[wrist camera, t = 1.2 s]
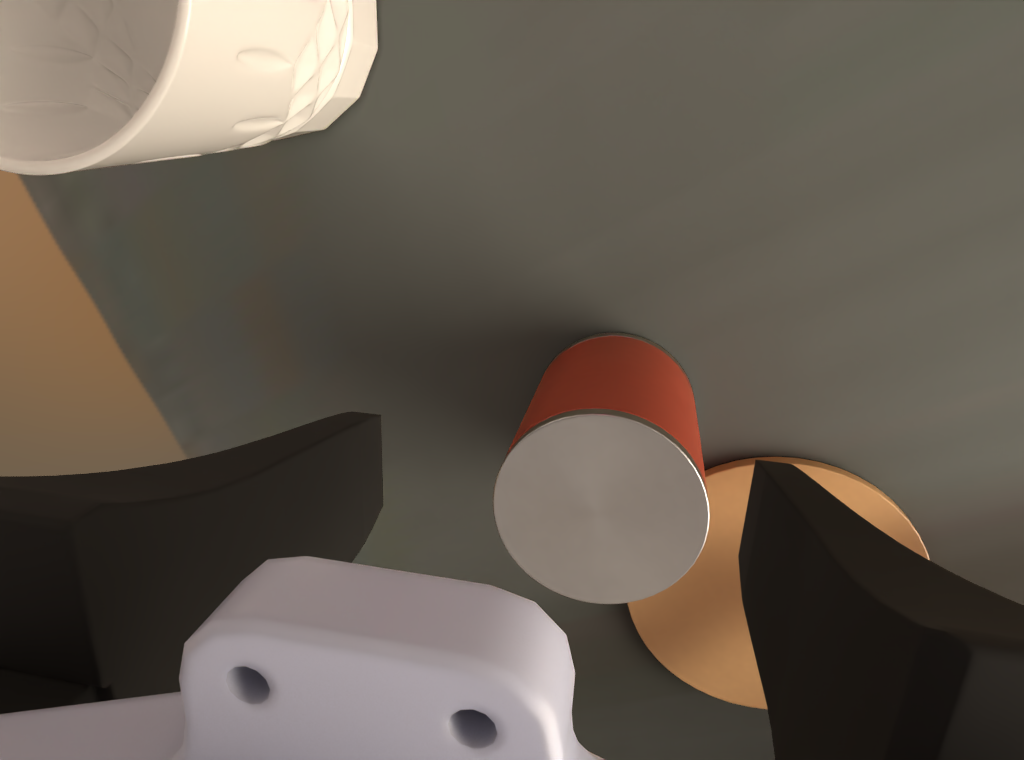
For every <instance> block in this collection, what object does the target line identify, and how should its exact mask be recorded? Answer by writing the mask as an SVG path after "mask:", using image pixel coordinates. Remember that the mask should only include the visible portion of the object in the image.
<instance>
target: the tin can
mask: <svg viewBox="0 0 1024 760" xmlns="http://www.w3.org/2000/svg"><path fill="white" fill-rule="evenodd" d="M493 512H494V518H495V523H496V526H497V529H498V532H499V535H500V537H501V539H502V541H503V544H504V546H505V547H506V549H507V550H508V552H509V554H510V555H511V557H512V558H513V559H514V560H515V561H516V563H517V564H518V565H519V566H520V567H521V568H522V569H523V570H524V571H525V572H526V573H527V574H528V575H529V576H531V577H532V578H533V579H535V580H536V581H537V582H538V583H540V584H542V585H543V586H545V587H547V588H548V589H550V590H552V591H554V592H556V593H559V594H561V595H563V596H566V597H569V598H572V599H575V600H579V601H584V602H588V603H597V604H621V603H629V602H634V601H638V600H642V599H645V598H648V597H650V596H653V595H655V594H657V593H659V592H661V591H663V590H665V589H667V588H668V587H670V586H671V585H673V584H674V583H676V582H677V581H678V580H679V579H680V578H681V577H683V576H684V575H685V574H686V573H687V572H688V570H689V569H690V568H691V567H692V565H693V564H694V563H695V561H696V560H697V558H698V556H699V555H700V553H701V551H702V549H703V546H704V544H705V542H706V538H707V534H708V530H709V520H710V511H709V500H708V492H707V485H706V478H705V471H704V464H703V457H702V450H701V443H700V436H699V429H698V421H697V414H696V407H695V400H694V395H693V390H692V386H691V384H690V381H689V378H688V377H687V375H686V373H685V371H684V369H683V368H682V367H681V365H680V364H679V363H678V361H677V360H676V359H675V358H674V357H673V356H672V355H671V354H670V353H669V352H667V351H666V350H665V349H664V348H662V347H661V346H659V345H657V344H656V343H654V342H652V341H650V340H648V339H645V338H643V337H640V336H636V335H633V334H626V333H613V332H611V333H600V334H596V335H591V336H588V337H585V338H583V339H580V340H578V341H576V342H574V343H572V344H571V345H569V346H568V347H566V348H565V349H564V350H562V351H561V352H560V353H559V354H558V355H557V356H556V357H555V358H554V359H553V361H552V362H551V363H550V364H549V366H548V368H547V369H546V371H545V373H544V375H543V377H542V379H541V381H540V383H539V386H538V388H537V390H536V392H535V394H534V396H533V399H532V401H531V403H530V405H529V407H528V409H527V411H526V414H525V416H524V418H523V420H522V422H521V424H520V427H519V429H518V431H517V433H516V435H515V437H514V439H513V442H512V444H511V446H510V448H509V450H508V452H507V455H506V457H505V459H504V461H503V463H502V465H501V468H500V470H499V472H498V475H497V478H496V482H495V486H494V493H493Z"/></svg>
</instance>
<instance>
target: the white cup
mask: <svg viewBox="0 0 1024 760" xmlns="http://www.w3.org/2000/svg"><path fill="white" fill-rule="evenodd" d="M377 50H378V36H377V8H376V0H0V170H2V171H7V172H12V173H17V174H25V175H54V174H62V173H69V172H77V171H84V170H92V169H100V168H107V167H115V166H123V165H131V164H139V163H147V162H155V161H163V160H172V159H180V158H188V157H196V156H201V155H206V154H210V153H217V152H224V151H231V150H236V149H240V148H248V147H254V146H260V145H264V144H266V143H268V142H270V141H274V140H282V139H286V138H291V137H295V136H299V135H304V134H308V133H312V132H317V131H321V130H325V129H326V128H327V127H328V126H329V125H331V124H332V123H333V122H334V121H335V120H336V119H337V118H338V117H339V116H340V115H341V114H342V113H343V112H345V111H346V110H347V109H348V108H349V107H350V106H351V105H352V104H353V103H354V102H355V101H356V100H358V99H359V97H360V95H361V92H362V90H363V87H364V84H365V82H366V79H367V77H368V74H369V71H370V69H371V66H372V63H373V61H374V58H375V56H376V53H377Z"/></svg>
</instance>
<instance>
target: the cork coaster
mask: <svg viewBox="0 0 1024 760" xmlns="http://www.w3.org/2000/svg"><path fill="white" fill-rule="evenodd" d="M755 460H764V461H773V462H781V463H790V464H792V465H794V466H796V467H797V468H799V469H800V470H802V471H803V472H804V473H806V474H807V475H808V476H809V477H811V478H812V479H813V480H815V481H816V482H817V483H818V484H820V485H821V486H822V487H823V488H825V489H826V490H827V491H828V492H830V493H831V494H832V495H834V496H835V497H836V498H837V499H839V500H840V501H841V502H843V503H844V504H845V505H846V506H848V507H849V508H850V509H852V510H853V511H854V512H856V513H857V514H858V515H860V516H861V517H863V518H864V519H865V520H867V521H868V522H869V523H871V524H872V525H874V526H875V527H877V528H878V529H880V530H881V531H883V532H884V533H886V534H887V535H889V536H890V537H892V538H893V539H895V540H896V541H898V542H899V543H901V544H902V545H904V546H906V547H907V548H909V549H910V550H912V551H914V552H915V553H917V554H919V555H921V556H923V557H924V558H926V559H928V560H930V559H929V556H928V552H927V550H926V548H925V546H924V544H923V541H922V539H921V537H920V535H919V534H918V532H917V531H916V529H915V527H914V526H913V525H912V523H911V522H910V520H909V519H908V518H907V516H906V515H905V513H904V512H903V511H902V510H901V509H900V508H899V507H898V506H897V505H896V504H895V503H894V502H893V501H892V500H891V499H890V498H889V497H888V496H887V495H885V494H884V493H883V492H882V491H880V490H879V489H878V488H877V487H875V486H874V485H872V484H870V483H868V482H867V481H865V480H863V479H862V478H860V477H858V476H856V475H854V474H852V473H849V472H847V471H845V470H843V469H840V468H838V467H834V466H831V465H828V464H824V463H821V462H817V461H812V460H806V459H801V458H791V457H757V458H750V459H743V460H737V461H733V462H729V463H726V464H722V465H719V466H715V467H713V468H710V469H708V470H706V471H705V478H706V485H707V492H708V500H709V511H710V520H709V530H708V534H707V538H706V542H705V544H704V546H703V549H702V551H701V553H700V555H699V556H698V558H697V560H696V561H695V563H694V564H693V565H692V567H691V568H690V569H689V570H688V572H687V573H686V574H685V575H684V576H683V577H681V578H680V579H679V580H678V581H677V582H676V583H674V584H673V585H671V586H670V587H668V588H667V589H665V590H663V591H661V592H659V593H657V594H655V595H653V596H650V597H648V598H645V599H642V600H638V601H634V602H629V603H627V604H628V608H629V611H630V615H631V618H632V620H633V623H634V625H635V627H636V630H637V632H638V633H639V635H640V637H641V638H642V640H643V642H644V643H645V645H646V646H647V648H648V649H649V650H650V651H651V652H652V654H653V655H654V656H655V657H656V659H657V660H659V661H660V662H661V663H662V664H663V665H664V666H665V667H666V668H667V669H668V670H669V671H670V672H672V673H673V674H674V675H676V676H677V677H678V678H680V679H681V680H682V681H684V682H686V683H687V684H689V685H691V686H692V687H694V688H696V689H698V690H700V691H702V692H704V693H706V694H708V695H711V696H713V697H716V698H718V699H721V700H724V701H727V702H730V703H734V704H739V705H743V706H747V707H754V708H761V709H767V704H766V700H765V696H764V691H763V687H762V683H761V679H760V675H759V671H758V667H757V662H756V658H755V654H754V650H753V646H752V642H751V638H750V633H749V629H748V625H747V620H746V616H745V612H744V607H743V603H742V595H741V584H740V572H739V559H738V554H739V549H740V543H741V537H742V532H743V526H744V521H745V515H746V510H747V504H748V499H749V493H750V488H751V482H752V476H753V471H754V465H755Z"/></svg>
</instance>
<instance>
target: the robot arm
mask: <svg viewBox="0 0 1024 760" xmlns="http://www.w3.org/2000/svg"><path fill="white" fill-rule="evenodd" d="M382 507H383V478H382V441H381V415H376V414H368V413H360V412H347V413H341V414H337V415H334V416H330V417H327V418H324V419H321V420H318V421H315V422H312V423H309V424H306V425H303V426H300V427H297V428H294V429H291V430H288V431H285V432H282V433H279V434H277V435H274V436H271V437H267V438H264V439H261V440H258V441H254V442H251V443H248V444H244V445H241V446H238V447H235V448H231V449H228V450H224V451H221V452H217V453H213V454H209V455H205V456H200V457H196V458H191V459H186V460H182V461H177V462H172V463H167V464H160V465H153V466H147V467H140V468H132V469H126V470H119V471H110V472H101V473H100V472H99V473H89V474H75V475H59V476H36V477H35V476H33V477H31V476H30V477H0V760H605V759H603V758H601V757H599V756H597V755H595V754H593V753H591V752H589V751H587V750H586V749H585V748H584V747H583V746H582V745H581V744H580V743H579V742H578V741H577V738H576V736H575V733H574V731H573V723H572V703H573V692H574V681H575V670H574V665H573V661H572V657H571V652H570V648H569V644H568V639H567V635H566V634H565V633H564V632H563V631H562V630H561V629H560V628H559V626H558V625H557V624H556V623H555V622H554V621H553V620H552V619H551V618H550V617H549V616H548V615H547V614H546V613H545V612H544V611H543V610H542V609H541V607H540V606H539V605H538V604H537V603H536V602H534V601H531V600H528V599H526V598H523V597H521V596H518V595H516V594H513V593H511V592H508V591H505V590H503V589H500V588H498V587H495V586H493V585H488V584H482V583H475V582H469V581H463V580H456V579H450V578H444V577H437V576H431V575H425V574H418V573H412V572H406V571H399V570H393V569H386V568H380V567H374V566H367V565H361V564H355V563H352V561H353V560H354V558H355V557H356V556H357V554H358V553H359V551H360V550H361V548H362V547H363V545H364V544H365V542H366V540H367V538H368V536H369V534H370V532H371V530H372V528H373V526H374V524H375V522H376V520H377V518H378V515H379V513H380V511H381V509H382ZM738 559H739V572H740V584H741V595H742V603H743V607H744V612H745V616H746V620H747V625H748V629H749V633H750V638H751V642H752V646H753V650H754V654H755V658H756V662H757V667H758V671H759V675H760V679H761V683H762V687H763V691H764V696H765V700H766V704H767V709H768V714H769V719H770V724H771V730H772V738H773V746H774V754H775V760H1024V605H1021V604H1019V603H1016V602H1014V601H1011V600H1009V599H1007V598H1005V597H1002V596H1000V595H998V594H996V593H994V592H991V591H989V590H987V589H985V588H983V587H980V586H978V585H976V584H974V583H972V582H970V581H968V580H966V579H964V578H962V577H960V576H958V575H956V574H954V573H952V572H950V571H948V570H946V569H944V568H942V567H940V566H939V565H937V564H935V563H933V562H932V561H930V560H928V559H926V558H924V557H923V556H921V555H919V554H917V553H915V552H914V551H912V550H910V549H909V548H907V547H906V546H904V545H902V544H901V543H899V542H898V541H896V540H895V539H893V538H892V537H890V536H889V535H887V534H886V533H884V532H883V531H881V530H880V529H878V528H877V527H875V526H874V525H872V524H871V523H869V522H868V521H867V520H865V519H864V518H863V517H861V516H860V515H858V514H857V513H856V512H854V511H853V510H852V509H850V508H849V507H848V506H846V505H845V504H844V503H843V502H841V501H840V500H839V499H837V498H836V497H835V496H834V495H832V494H831V493H830V492H828V491H827V490H826V489H825V488H823V487H822V486H821V485H820V484H818V483H817V482H816V481H815V480H813V479H812V478H811V477H809V476H808V475H807V474H806V473H804V472H803V471H802V470H800V469H799V468H797V467H796V466H794V465H792V464H790V463H781V462H773V461H764V460H755V465H754V471H753V476H752V482H751V488H750V493H749V499H748V504H747V510H746V515H745V521H744V526H743V532H742V537H741V543H740V549H739V554H738Z"/></svg>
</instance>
